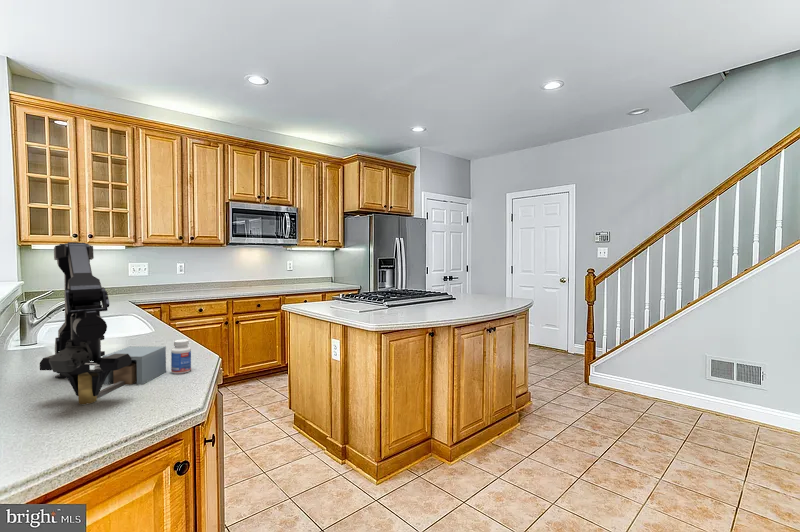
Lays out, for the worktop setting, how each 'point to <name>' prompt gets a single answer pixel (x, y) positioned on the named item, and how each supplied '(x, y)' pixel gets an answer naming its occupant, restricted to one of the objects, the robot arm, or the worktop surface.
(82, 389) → the block
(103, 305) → the robot arm
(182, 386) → the worktop surface
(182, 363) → the pill bottle
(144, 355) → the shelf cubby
